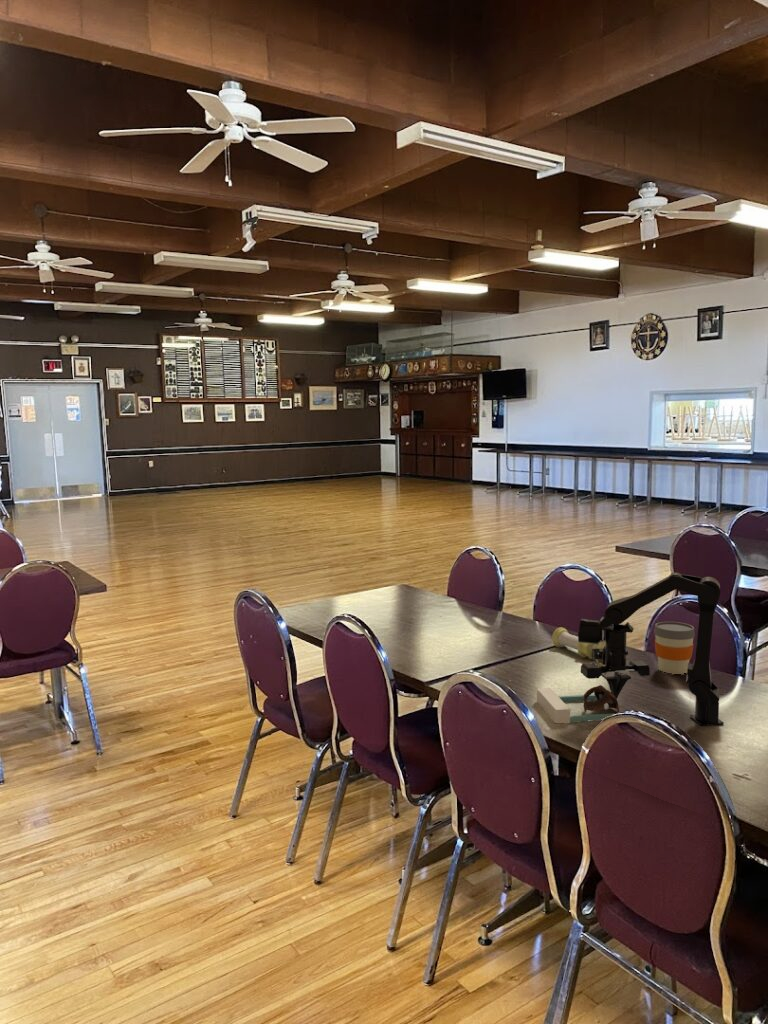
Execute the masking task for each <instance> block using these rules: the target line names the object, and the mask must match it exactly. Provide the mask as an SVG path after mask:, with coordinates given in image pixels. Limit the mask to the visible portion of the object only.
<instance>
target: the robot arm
mask: <svg viewBox="0 0 768 1024" xmlns="http://www.w3.org/2000/svg"><path fill="white" fill-rule="evenodd" d="M675 590H677V591H678V590H679V591H682V592H684V593H687V594H688V595H692V596H696V597H697V603H698V611H699V613H698V624H697V633H696V634H697V635H696V647H695V655H694V656H695V657H694V659H693V663H690V662H689V663H688V668H687V673H686V679H685V684H687V685H688V690H689V691H690V693H691V694H693V695H694V696H695V707H694V710H695V711H694V713H695V714H690V715H689V717H690V719H692V720H693V721H694V722H696V723H698V724H699V725H700V726H717V725H718V726H719V725H720V726H721V725H724V721H722V720H721V719H719V714H720V713H719V712H720V688H719V687H718V686H717V685H716V684H715V682H713V681H712V675H711V665H710V657H711V645H712V636H713V635H712V634H713V625H714V624H713V623H714V616H715V612H716V609H717V607H718V603H719V599H720V598H721V597H720V596H721V585H720V582H719V581H718V580H717V579H716V578H714V577H712V576H704V577H701V576H695V575H688V574H682V573H680V572H672V573H670V575H668V576H666V577H665V578H663V579H661V580H659V581H657V582H655V583H653V584H652V585H649V586H647V587H646V588H644V589H642V590H640V591H639V592H636V593H635V594H633V595H630V596H625V597H624V596H623V597H622V598H618V599H615V600H612V601H611V602H609V604H608V605H607V607H606V609H605V611H604V615H603V616H601V618H600V619H599V620H594V619H586V618H581V619H580V620H579V628H578V632H577V637H578V641H579V642H581V643H592V644H599V642H605V646H604V648H603V651H600V649H599V648H598V649H592V653H591V655H592V661H593V660H595V661H596V660H597V659H598V662H597V664H599V663H602V664H603V665H605V666H603V665H600V666H599V665H597V664H596V663H595V662H587V663H585V662H584V663H582V664H581V666H580V673H581V674H582V675H583V676H584V677H585V678H586V679H589V680H590V679H593V680H594V679H599V678H600V677H602V678H604V679H605V680H606V682H607V684H608V687H609V689H610V690H609V691H610V692H611V693H613V695H614V696H615V697H616V699H617V700H618V697H619V696H620V693H621V691H622V690H623V687H624V686H625V685H626V683H627V682H628V681H629V680H631V679H632V677H631V676H630V673H632V672H633V673H634V672H637V674H638V675H639V676H641V677H646V676H647V677H648V676H651V674H652V673H651V672H652V669H651V666H650V665H648V664H647V663H646V662H645V661H644V660H630V661H629V663H628V664H627V656H628V655H629V651H628V650H627V633H629V634H630V633H631V634H632V633H633V632H634V629H635V628H634V627H633V626H632V625H631V624H630V622H629V621H627V622H626V623H624V622H625V621H626V620H628V619H629V618H630V617H631V616H632V615H634V614H635V613H637V611H639V609H641V608H644V607H645V606H647V605H650V604H651V603H653V602H655V601H657V600H658V599H660V598H662V597H664V596H666V595H668V594H670V593H672V592H673V591H675ZM623 623H624V624H623ZM604 637H605V641H604Z"/></svg>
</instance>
